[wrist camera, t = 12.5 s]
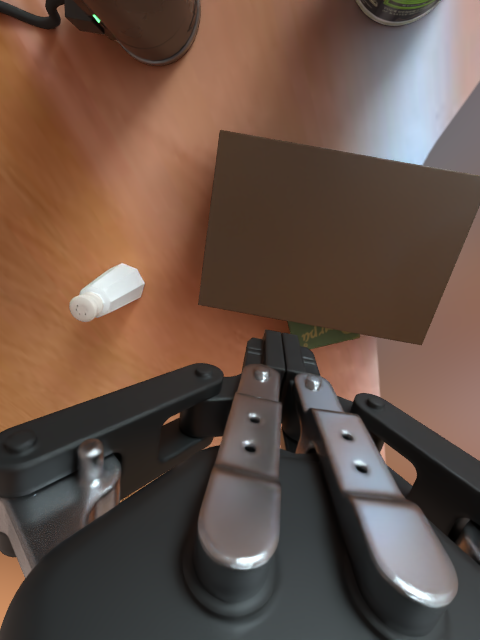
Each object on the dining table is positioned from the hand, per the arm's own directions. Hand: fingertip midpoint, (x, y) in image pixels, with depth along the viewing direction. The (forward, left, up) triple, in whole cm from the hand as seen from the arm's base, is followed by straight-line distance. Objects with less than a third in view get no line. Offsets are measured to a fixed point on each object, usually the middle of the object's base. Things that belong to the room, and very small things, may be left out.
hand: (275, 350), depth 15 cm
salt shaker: (-18, -7, -27) cm, 33 cm away
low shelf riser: (+6, +3, -27) cm, 28 cm away
